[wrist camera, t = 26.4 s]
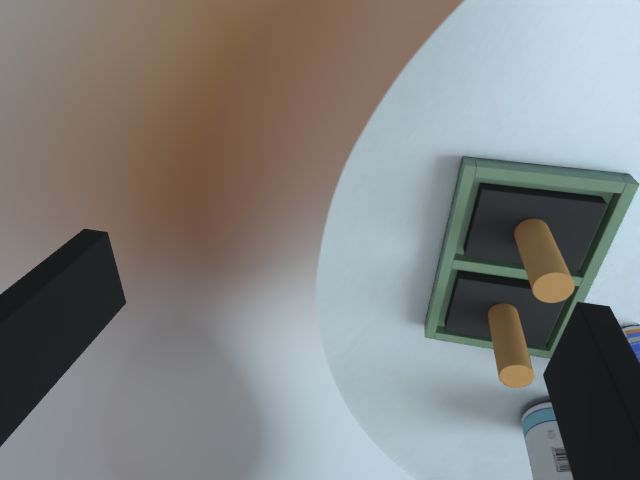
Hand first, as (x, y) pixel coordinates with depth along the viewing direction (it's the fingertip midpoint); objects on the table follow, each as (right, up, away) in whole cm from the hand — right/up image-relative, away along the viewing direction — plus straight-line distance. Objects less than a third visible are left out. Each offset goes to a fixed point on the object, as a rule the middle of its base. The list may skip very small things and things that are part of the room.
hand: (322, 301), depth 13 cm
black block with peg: (+18, -5, +32) cm, 38 cm away
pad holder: (+19, 0, +30) cm, 36 cm away
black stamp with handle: (+19, +3, +27) cm, 33 cm away
